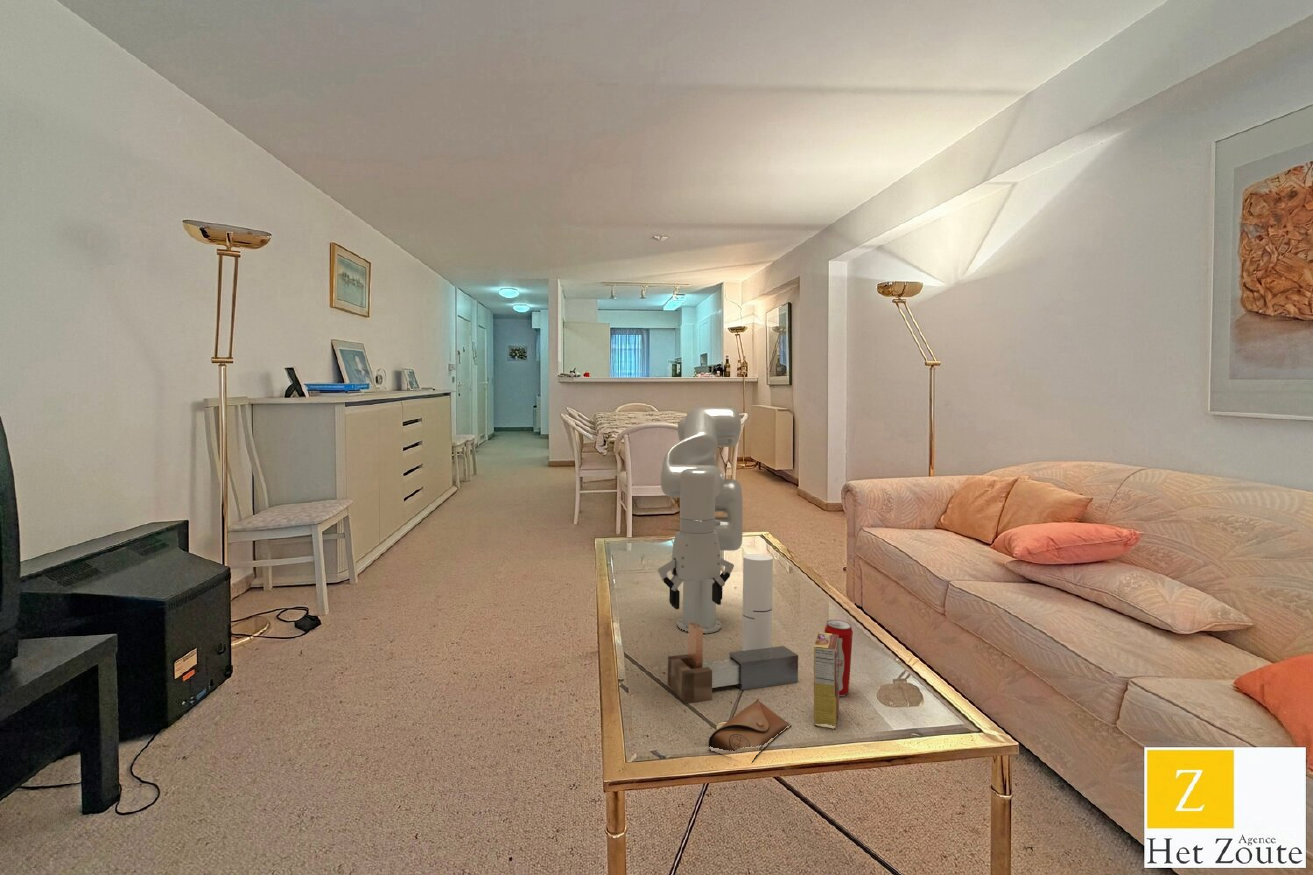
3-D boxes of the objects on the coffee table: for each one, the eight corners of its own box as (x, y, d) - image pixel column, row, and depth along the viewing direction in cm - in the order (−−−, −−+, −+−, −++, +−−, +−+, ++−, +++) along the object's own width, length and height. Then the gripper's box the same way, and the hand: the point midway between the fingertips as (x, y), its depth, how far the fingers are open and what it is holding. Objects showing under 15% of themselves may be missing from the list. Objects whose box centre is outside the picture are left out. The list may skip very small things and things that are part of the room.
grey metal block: (729, 679, 132) (729, 652, 132) (783, 671, 136) (783, 645, 136) (741, 690, 126) (742, 662, 126) (797, 681, 131) (798, 655, 131)
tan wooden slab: (687, 682, 127) (688, 622, 127) (745, 674, 132) (746, 616, 132) (695, 690, 123) (696, 628, 123) (754, 681, 128) (754, 622, 128)
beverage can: (829, 683, 130) (830, 616, 130) (857, 692, 125) (858, 623, 125) (815, 691, 126) (816, 621, 126) (843, 701, 121) (844, 629, 121)
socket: (667, 683, 129) (668, 656, 129) (692, 680, 131) (693, 653, 131) (685, 703, 119) (685, 674, 119) (711, 699, 121) (712, 670, 121)
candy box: (817, 705, 119) (818, 631, 119) (839, 709, 118) (840, 634, 117) (811, 725, 111) (813, 645, 111) (835, 730, 109) (837, 648, 109)
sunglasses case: (752, 766, 97) (734, 725, 99) (719, 775, 100) (703, 735, 102) (794, 724, 111) (778, 689, 113) (765, 733, 115) (749, 699, 117)
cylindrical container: (771, 665, 140) (772, 560, 140) (741, 662, 141) (742, 559, 141) (771, 654, 147) (772, 555, 147) (742, 651, 148) (744, 553, 148)
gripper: (725, 521, 132) (724, 596, 132) (653, 525, 126) (652, 603, 127) (741, 527, 125) (740, 606, 125) (665, 531, 119) (664, 614, 120)
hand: (696, 605), depth 126 cm, fingers open, 9 cm apart
